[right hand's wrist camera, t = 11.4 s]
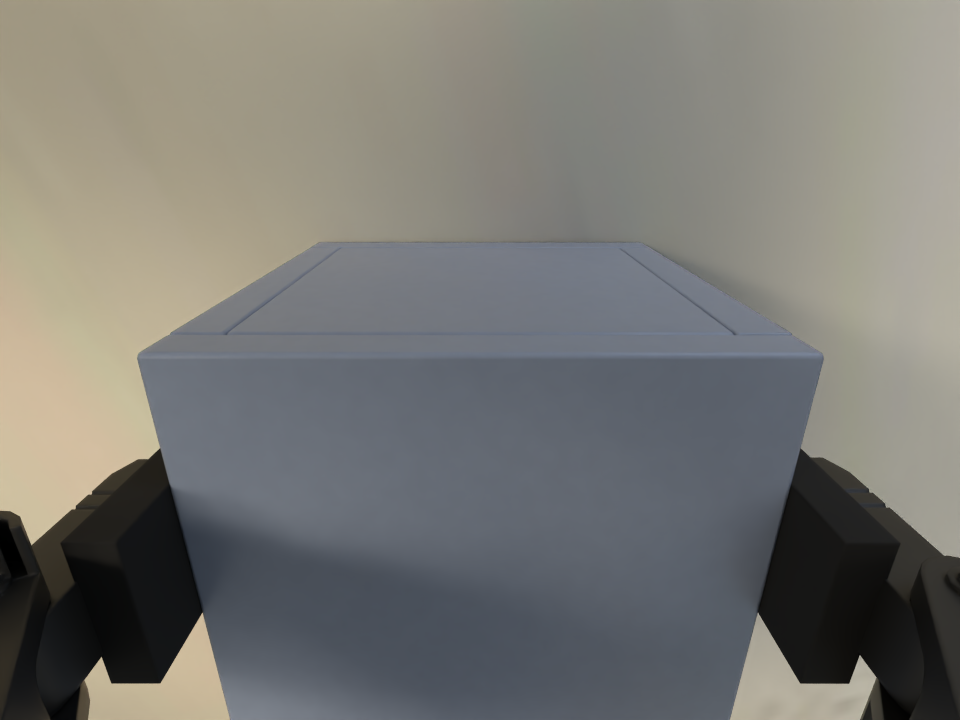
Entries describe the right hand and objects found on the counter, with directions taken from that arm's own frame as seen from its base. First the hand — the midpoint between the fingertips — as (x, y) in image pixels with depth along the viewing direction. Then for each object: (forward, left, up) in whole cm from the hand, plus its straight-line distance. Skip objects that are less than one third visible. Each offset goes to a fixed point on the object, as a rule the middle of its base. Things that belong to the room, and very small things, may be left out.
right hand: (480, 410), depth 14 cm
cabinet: (+3, -5, -4) cm, 7 cm away
